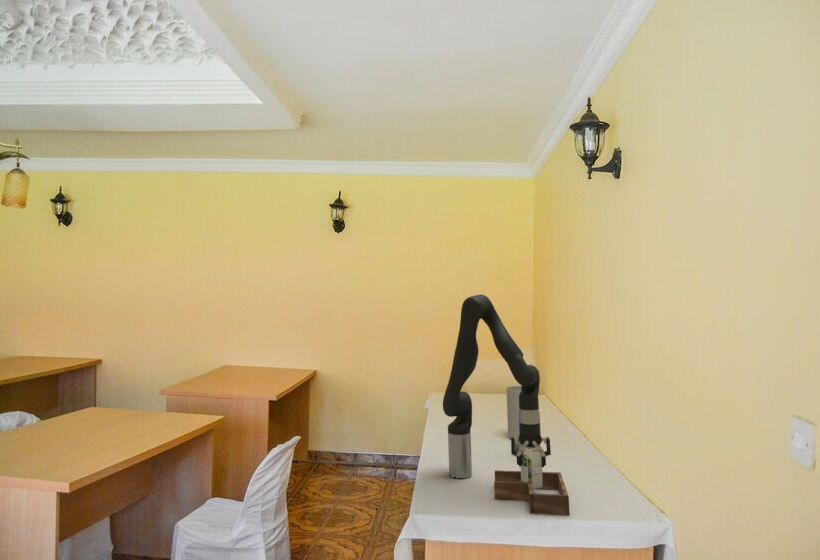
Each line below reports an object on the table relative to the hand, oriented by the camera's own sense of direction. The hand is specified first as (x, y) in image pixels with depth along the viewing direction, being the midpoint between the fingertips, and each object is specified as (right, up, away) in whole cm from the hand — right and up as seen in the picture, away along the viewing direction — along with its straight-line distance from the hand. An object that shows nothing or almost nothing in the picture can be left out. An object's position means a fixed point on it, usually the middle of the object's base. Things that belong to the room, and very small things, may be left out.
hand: (531, 466), depth 181 cm
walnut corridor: (-2, -10, -5) cm, 11 cm away
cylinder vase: (+12, -13, +72) cm, 74 cm away
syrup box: (0, -7, 0) cm, 7 cm away
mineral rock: (+7, -12, +41) cm, 43 cm away
